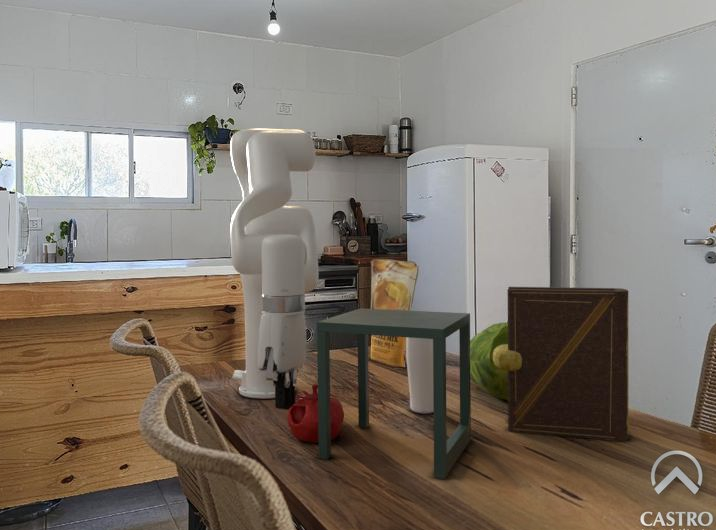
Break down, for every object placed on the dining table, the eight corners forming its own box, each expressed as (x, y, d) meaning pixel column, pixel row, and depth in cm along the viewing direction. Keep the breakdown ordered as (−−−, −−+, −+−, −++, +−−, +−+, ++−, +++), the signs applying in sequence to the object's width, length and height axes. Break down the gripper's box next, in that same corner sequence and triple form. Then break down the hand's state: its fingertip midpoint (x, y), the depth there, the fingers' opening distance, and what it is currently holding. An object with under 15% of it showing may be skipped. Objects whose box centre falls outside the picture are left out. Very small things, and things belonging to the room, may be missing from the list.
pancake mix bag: (381, 354, 173) (380, 258, 173) (421, 367, 157) (420, 260, 156) (361, 357, 170) (360, 259, 169) (400, 370, 153) (399, 261, 153)
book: (623, 428, 106) (623, 287, 105) (631, 444, 98) (631, 292, 97) (494, 417, 113) (493, 285, 113) (492, 431, 105) (491, 290, 105)
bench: (318, 458, 94) (316, 321, 93) (361, 424, 110) (360, 308, 109) (444, 479, 85) (443, 329, 85) (470, 439, 101) (470, 313, 101)
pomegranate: (342, 426, 109) (341, 376, 109) (346, 446, 99) (345, 390, 99) (288, 427, 109) (287, 377, 108) (286, 447, 99) (285, 391, 98)
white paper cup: (441, 416, 114) (440, 338, 114) (405, 414, 116) (404, 337, 115) (441, 406, 121) (440, 332, 120) (407, 404, 122) (406, 331, 122)
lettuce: (480, 410, 139) (514, 353, 144) (545, 421, 117) (582, 354, 122) (427, 366, 137) (463, 310, 142) (483, 370, 115) (523, 303, 120)
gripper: (286, 300, 114) (288, 395, 115) (242, 309, 101) (243, 417, 101) (321, 301, 111) (323, 399, 111) (280, 310, 97) (282, 422, 98)
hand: (285, 407), depth 106 cm, fingers closed
